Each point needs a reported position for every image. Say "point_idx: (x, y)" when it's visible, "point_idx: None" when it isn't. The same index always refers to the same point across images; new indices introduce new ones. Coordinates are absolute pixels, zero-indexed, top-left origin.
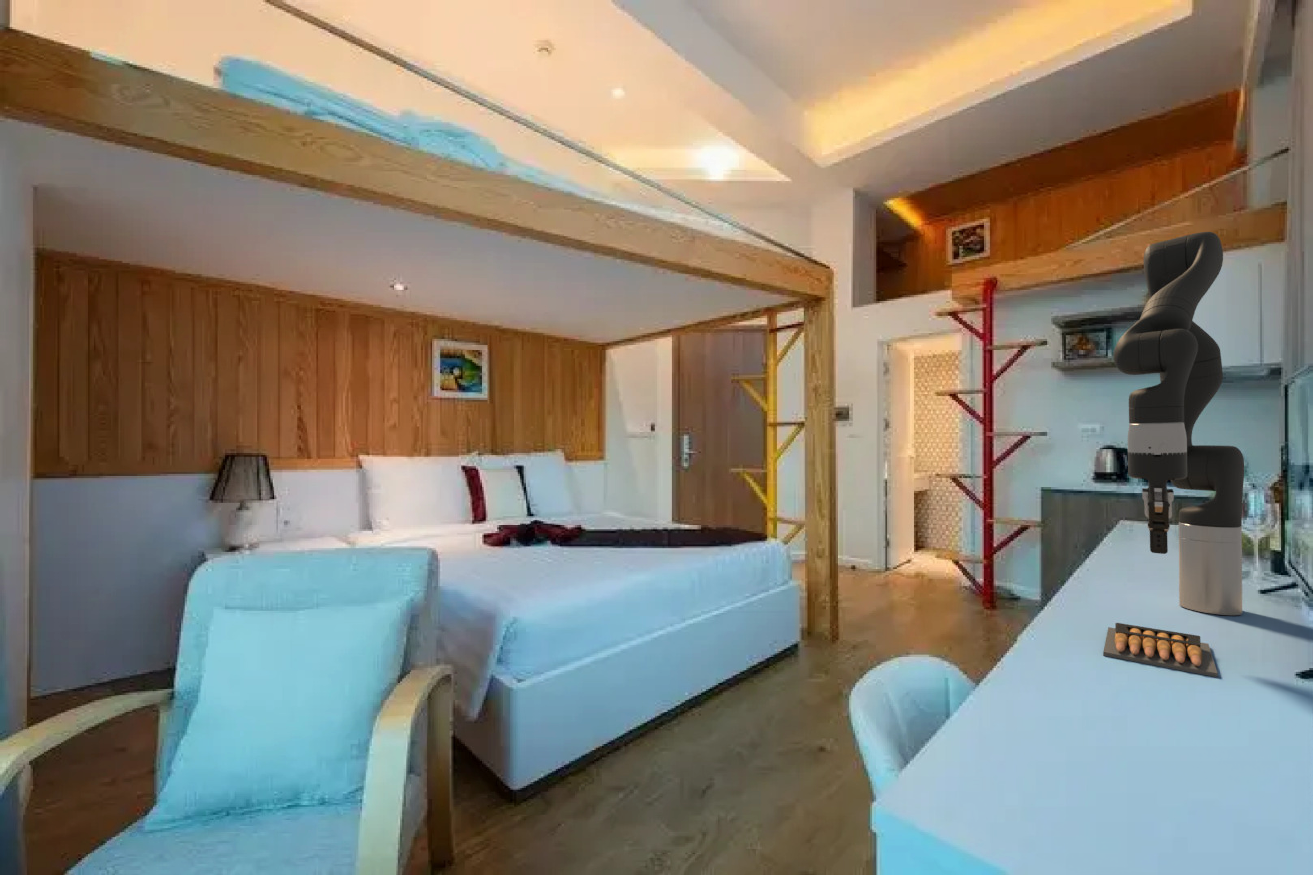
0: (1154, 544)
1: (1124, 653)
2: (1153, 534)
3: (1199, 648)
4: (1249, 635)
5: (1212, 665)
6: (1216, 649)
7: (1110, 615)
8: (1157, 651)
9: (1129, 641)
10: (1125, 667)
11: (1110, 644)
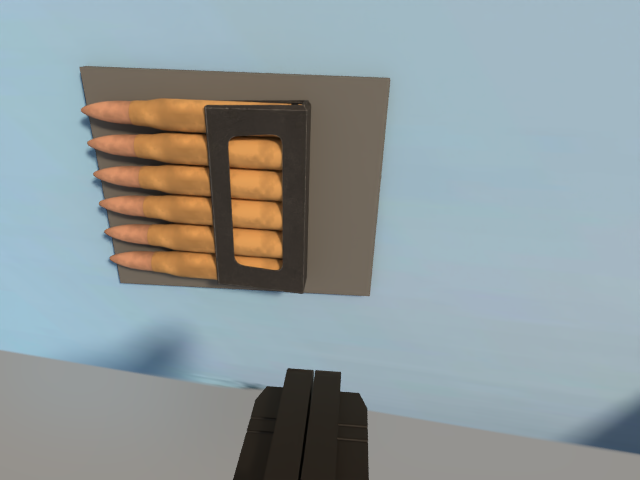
0: (254, 418)
1: None
2: (234, 476)
3: (210, 278)
4: (547, 373)
5: (173, 281)
6: (362, 302)
7: (621, 83)
8: None
9: (162, 136)
10: (29, 117)
11: (176, 85)
